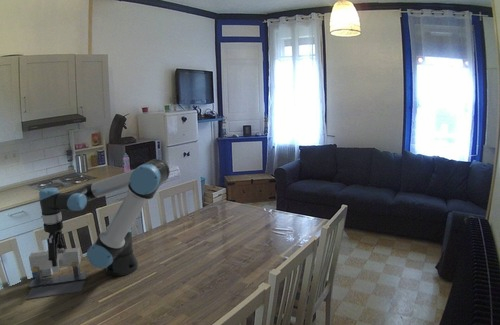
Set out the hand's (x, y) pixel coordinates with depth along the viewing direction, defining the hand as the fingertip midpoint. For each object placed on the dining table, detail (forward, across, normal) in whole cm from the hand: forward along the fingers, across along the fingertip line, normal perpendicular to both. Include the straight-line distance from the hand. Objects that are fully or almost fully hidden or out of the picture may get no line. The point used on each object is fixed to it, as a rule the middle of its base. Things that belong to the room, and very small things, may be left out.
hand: (59, 266), depth 159 cm
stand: (+8, 0, -1) cm, 8 cm away
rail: (0, 0, -1) cm, 1 cm away
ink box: (+8, -9, -10) cm, 16 cm away
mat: (+8, +8, 0) cm, 11 cm away
